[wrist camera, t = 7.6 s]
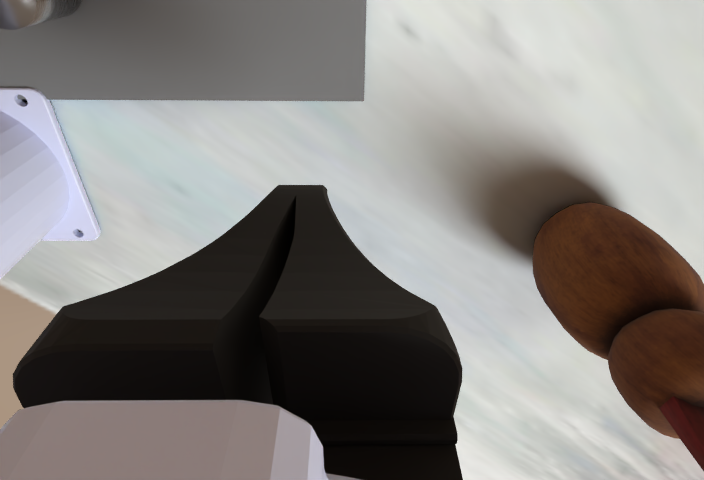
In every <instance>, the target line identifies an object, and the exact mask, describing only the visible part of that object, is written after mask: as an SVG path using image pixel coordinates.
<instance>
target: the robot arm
mask: <svg viewBox="0 0 704 480" xmlns="http://www.w3.org/2000/svg"><path fill="white" fill-rule="evenodd" d="M18 94H19V95H22V96H24V97H25V98H26V99H27V102H28V104H27V103H25V102H23V101H22V99H18V98H17V96H18ZM77 229H78V230H80V231H82V232H83V233H80V232H79V231H78V230H77ZM100 234H101V231H100V228H99V225H98V223H97V220H96V217H95V215H94V212H93V210H92V207H91V205H90V202H89V200H88V197H87V194H86V192H85V189H84V187H83V184H82V182H81V179H80V177H79V174H78V172H77V169H76V166H75V164H74V161H73V159H72V156H71V154H70V151H69V149H68V146H67V144H66V141H65V138H64V136H63V133H62V131H61V128H60V126H59V123H58V121H57V118H56V116H55V113H54V110H53V108H52V105H51V103H50V100H49V99H46V97H45V95H44V94H43V93H42V92H40V91H39V90H37V89H35V88H0V279H1V278H2V277H3V276H4V275H5V274H6V273H7V272H8V271H9V270H10V269H11V268H12V267H13V266H15V265H16V264H17V263H18V262H19V261H20V260H21V259H22V258H23V257H24V256H25V255H26V254H27V253H28V252H29V251H30V250H31V249H32V248H33V247H34V246H35V245H36V244H37V243H38V242H39V241H92V240H96V239H97V238H98V237H99V236H100ZM461 383H462V366H461V362H460V358H459V355H458V352H457V349H456V346H455V344H454V342H453V339H452V337H451V335H450V333H449V330H448V328H447V326H446V324H445V322H444V320H443V318H442V316H441V315H440V313H439V311H438V309H437V308H436V307H435V306H434V305H432V304H431V303H429V302H427V301H425V300H423V299H421V298H420V297H418V296H416V295H414V294H412V293H410V292H409V291H407V290H405V289H404V288H402V287H401V286H399V285H398V284H396V283H395V282H393V281H392V280H390V279H389V278H388V277H387V276H385V275H384V274H383V273H382V272H381V271H379V270H378V269H377V268H376V267H375V266H374V265H373V264H372V263H371V262H370V261H369V260H368V259H367V258H366V257H365V256H364V255H363V254H362V253H361V252H360V251H359V249H358V248H357V247H356V246H355V245H354V243H353V242H352V241H351V239H350V238H349V236H348V235H347V233H346V232H345V231H344V229H343V227H342V226H341V224H340V222H339V221H338V219H337V217H336V215H335V213H334V211H333V209H332V207H331V204H330V202H329V199H328V195H327V189H326V188H325V187H324V186H323V185H278V186H277V187H276V188H275V189H274V190H273V191H272V192H271V193H270V194H268V195H267V196H266V197H265V198H264V199H263V200H262V201H261V202H260V203H259V204H258V205H257V206H256V207H255V208H254V209H253V210H252V211H251V212H250V213H249V214H248V215H247V216H245V217H244V218H243V219H242V220H241V221H239V222H238V223H237V224H236V225H235V226H233V227H232V228H231V229H230V230H228V231H227V232H226V233H225V234H223V235H222V236H221V237H219V238H218V239H216V240H215V241H213V242H212V243H210V244H209V245H207V246H206V247H204V248H203V249H201V250H199V251H198V252H196V253H195V254H193V255H191V256H189V257H187V258H185V259H183V260H182V261H180V262H178V263H176V264H174V265H172V266H170V267H168V268H166V269H164V270H162V271H160V272H158V273H156V274H153V275H151V276H149V277H147V278H144V279H142V280H140V281H137V282H135V283H132V284H130V285H127V286H125V287H122V288H119V289H116V290H114V291H111V292H108V293H105V294H102V295H98V296H95V297H92V298H89V299H86V300H83V301H80V302H77V303H74V304H70V305H67V306H63V307H62V309H61V310H60V311H59V312H58V313H57V315H56V316H55V317H54V318H53V320H52V321H51V323H49V325H48V326H47V327H46V329H45V330H44V331H43V332H42V334H41V335H40V336H39V338H38V339H37V340H36V342H35V343H34V344H33V345H32V347H31V348H30V349H29V350H28V352H27V353H26V354H25V356H24V357H23V358H22V360H21V361H20V362H19V364H18V366H17V368H16V370H15V372H14V373H13V388H14V390H15V392H16V394H17V396H18V399H19V400H20V403H21V405H22V406H23V408H24V409H20V410H18V411H17V412H16V413H15V414H14V415H13V416H12V417H11V418H10V419H9V420H8V421H7V422H6V423H5V424H4V425H3V426H2V428H1V429H0V480H463V478H462V474H461V469H460V464H459V460H458V455H457V451H456V446H455V444H456V443H457V431H456V426H455V422H454V417H453V415H454V411H455V407H456V403H457V399H458V395H459V391H460V387H461Z"/></svg>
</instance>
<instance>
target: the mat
mask: <svg viewBox="0 0 704 480" xmlns="http://www.w3.org/2000/svg"><path fill="white" fill-rule="evenodd" d="M365 33H366V0H82V1H81V4H80V6H79V8H78V9H77V10H76V11H75V12H74V13H73V14H71V15H69V16H66V17H62V18H58V19H55V20H51V21H47V22H43V23H39V24H36V25H32V26H28V27H24V28H20V29H16V30H6V29H1V28H0V88H35V89H37V90H39V91H40V92H42V93H43V94H44V95H45V97H46V99H63V100H247V101H364V74H365ZM17 98H18V99H26V98H25V97H24V96H22V95H19V94H18V96H17Z"/></svg>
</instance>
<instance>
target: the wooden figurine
mask: <svg viewBox="0 0 704 480" xmlns="http://www.w3.org/2000/svg"><path fill="white" fill-rule="evenodd" d="M533 274H534V278H535V282H536V285H537V289H538V290H539V292H540V294H541V296H542V298H543V300H544V302H545V303H546V304H547V306H548V307H549V309H550V310H551V311H552V313H553V314H554V315H555V317H556V318H557V320H558V321H559V322H560V324H561V325H562V326H563V328H564V329H565V330H566V331H567V332H568V333H569V334H570V335H571V336H572V337H573V338H574V339H575V340H576V341H577V342H578V343H580V344H581V345H582V346H583V347H584V348H586V349H587V350H588V351H590V352H592V353H594V354H596V355H598V356H600V357H602V358H604V359H607V360H608V364H609V369H610V373H611V377H612V380H613V382H614V383H615V385H616V387H617V389H618V391H619V392H620V394H621V395H622V397H623V398H624V400H625V401H626V403H627V404H628V405H629V406H630V407H631V408H632V409H633V411H634V412H635V413H636V414H637V415H638V416H639V417H640V418H641V419H642V420H643V421H644V422H645V423H646V424H647V425H648V426H650V427H651V428H653V429H655V430H656V431H658V432H660V433H661V434H663V435H666V436H669V437H673V438H679V439H681V441H682V442H683V443H684V445H685V446H686V447H687V449H688V450H689V452H690V453H691V454H692V456H693V457H694V458H695V460H696V461H697V463H698V464H699V465H700V467H701V468H702V469H703V471H704V284H703V282H702V280H701V278H700V276H699V275H698V274H697V272H696V271H695V270H694V269H693V268H692V267H691V266H690V264H689V263H688V262H687V261H686V260H685V259H684V258H683V257H682V256H681V255H680V254H679V253H678V252H677V251H676V250H675V249H674V248H673V247H672V246H671V245H669V244H668V243H667V242H666V241H665V240H664V239H663V238H662V237H661V236H660V235H658V234H657V233H655V232H654V231H653V230H651V229H650V228H648V227H647V226H645V225H644V224H643V223H641V222H640V221H638V220H637V219H635V218H634V217H632V216H631V215H629V214H627V213H625V212H622V211H620V210H618V209H616V208H612V207H609V206H606V205H602V204H598V203H592V202H588V203H581V204H575V205H571V206H569V207H567V208H565V209H563V210H562V211H560V212H558V213H556V214H555V215H554V216H552V217H551V218H550V219H549V220H548V221H546V222H545V223H544V224H543V226H542V227H541V229H540V231H539V233H538V234H537V236H536V238H535V243H534V249H533Z"/></svg>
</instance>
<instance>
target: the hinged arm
mask: <svg viewBox="0 0 704 480" xmlns="http://www.w3.org/2000/svg"><path fill="white" fill-rule="evenodd" d="M81 1H82V0H0V28H1V29H6V30H16V29H20V28H24V27H28V26H32V25H36V24H39V23H43V22H47V21H51V20H55V19H58V18H62V17H66V16H69V15H71V14H73V13H74V12H75V11H76V10H77V9H78V8H79V6H80V4H81Z"/></svg>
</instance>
